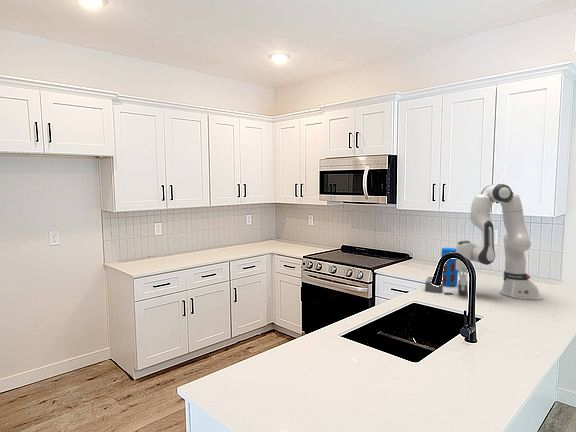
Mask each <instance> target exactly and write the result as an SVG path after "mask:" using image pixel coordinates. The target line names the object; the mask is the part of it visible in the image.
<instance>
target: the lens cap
mask: <svg viewBox="0 0 576 432" xmlns="http://www.w3.org/2000/svg"><path fill="white" fill-rule="evenodd" d="M443 295H445V296H449V295H453V296H454V293H453V292H447V291H446V292H443Z"/></svg>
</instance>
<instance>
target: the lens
mask: <svg viewBox="0 0 576 432" xmlns="http://www.w3.org/2000/svg"><path fill="white" fill-rule="evenodd" d="M457 287H458V290H457V291H458V293H457V294H458V295H466V296H467V295H468V281H467V284H466V285H465V289H464V291H462V290H461V285H460V279H458V281H457Z"/></svg>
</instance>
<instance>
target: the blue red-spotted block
mask: <svg viewBox="0 0 576 432" xmlns="http://www.w3.org/2000/svg"><path fill="white" fill-rule="evenodd" d="M450 252H456V248H455V247H442V248H441V254H440V255H441V257H440V259H441V258H442V257H443V256H444V255H445V254H447V253H450ZM458 277H459V273H458V270H456V259H449V260H448V261H447V262H446V264H445V266H444V271H443V280H442V281H443V287H448V288H456V287H458V281H459V279H458Z"/></svg>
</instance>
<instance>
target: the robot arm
mask: <svg viewBox="0 0 576 432" xmlns="http://www.w3.org/2000/svg"><path fill="white" fill-rule="evenodd" d="M494 203H499V204H500V206H501V212H502V220H503V226H504V228H505V231H506V234H505V235H504V237H503V247H504V249H503V250H504V257H505V259H504V271H503V277H502V279H503V284H502V287H501V290H500V294H501V295H503V296H507V297H510V298H512V299H521V300H524V299H525V300H535V301H536V300H538V301H542V300H543V299H544V297H543V295H541V294H540V293H539V288H538V286H536V284H535V283H533V282H532V281H531V280H530V279H531V276H530V275H529V274H528V273H526V265H527V264H526V263H527V262H526V255H525V252H526V251H528V250H529V249H530V248H531V245H532V242H531V240H530V237H529V233H528V230H527V227H526V223H525V218H524V217H525V215H524V209H523V204H522V201H521V198H520V195H519V194H517V193H515V192H513V191H512V188H511V187H510V186H509V185H507V184H504V183H496V184H490V185H487V186H486V187H484V188H483V189H482V191H481V192H480V193H479V194H477V195H475V196H474V197H473V199H472V203H471V206H470V211H469V212H470V213H469V219H470V222H471V224H473V226H475V227H476V228H478V229H479V230H480V231H481V233H482V246H479V245H476V244H474V243H472V242H471V241H470V240H460V241H459V242H457V244H456V246H455V247H456V252H457V253H460V254H462V255H464V256H465V257H467V258H468V259H469V260H470V261H471V262H472V261H474V262H476V263H480V264H482V265H486V266H487V265H490V264H492V263H494V261H495V259H496V252H495V243H494V242H495V236H494V235H495V233H494V225H493V223H492V220H491V211H492V210H491V208H492V205H493V204H494ZM456 270H458V277H459V280H460V285H461V290H462V291H464V289H465V285H466V284H467V282H468V274H469V273H468V271H467V268H466V267H465V265H464V264H463V263H462V262H461V261H460V260H458V259H456ZM467 285H468V284H467Z"/></svg>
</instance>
